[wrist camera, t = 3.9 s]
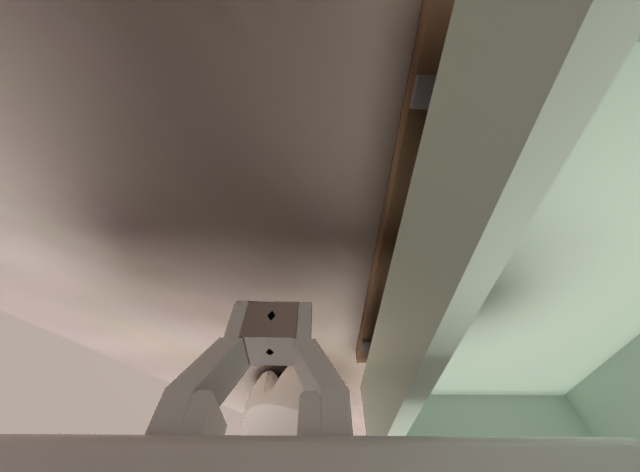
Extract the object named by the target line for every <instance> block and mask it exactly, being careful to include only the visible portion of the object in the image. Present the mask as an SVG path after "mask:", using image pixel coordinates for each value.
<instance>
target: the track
mask: <svg viewBox="0 0 640 472" xmlns="http://www.w3.org/2000/svg"><path fill="white" fill-rule="evenodd" d="M454 2H455V0H423V4H422V9H421V14H420V19H419V25H418V30H417V35H416V40H415V45H414V51H413V56H412V61H411V66H410V71H409V77H408V82H407V87H406V92H405V98H404V103H403V108H402V113H401V118H400V124H399V129H398V134H397V139H396V145H395V150H394V155H393V160H392V165H391V171H390V176H389V181H388V186H387V192H386V197H385V202H384V207H383V212H382V218H381V223H380V228H379V233H378V238H377V244H376V249H375V254H374V259H373V265H372V270H371V275H370V280H369V285H368V291H367V296H366V301H365V306H364V312H363V317H362V322H361V327H360V332H359V338H358V343H357V348H356V359H357V362H359V363H366V362H367V358H368V354H369V350H370V346H371V342H372V338H373V334H374V330H375V325H376V321H377V317H378V313H379V309H380V305H381V301H382V297H383V293H384V289H385V285H386V280H387V276H388V272H389V268H390V264H391V260H392V256H393V252H394V248H395V244H396V240H397V235H398V231H399V227H400V223H401V219H402V215H403V211H404V207H405V203H406V199H407V194H408V190H409V186H410V182H411V178H412V174H413V170H414V166H415V162H416V158H417V154H418V149H419V145H420V141H421V137H422V133H423V129H424V125H425V121H426V117H427V113H428V109H429V104H430V100H431V96H432V92H433V88H434V84H435V80H436V76H437V72H438V68H439V63H440V59H441V55H442V51H443V47H444V43H445V39H446V35H447V31H448V27H449V23H450V18H451V14H452V10H453V6H454Z"/></svg>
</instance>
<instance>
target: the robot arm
mask: <svg viewBox="0 0 640 472" xmlns="http://www.w3.org/2000/svg"><path fill="white" fill-rule="evenodd" d="M311 330H312V302H260V301H236V303H235V304H234V307H233V310H232V313H231V316H230V319H229V322H228V326H227V329H226V332H225V335H224V338H219V339H218V340H217V341H216V342H215V343H213V344H212V345H211V346H210V347H209V348H208V349H207V350H206V351H205V352H204V353H203V354H202V355H201V356H199V357H198V358H197V359H196V360H195V361H194V362H193V363H192V364H191V365H190V366H189V367H188V368H187V369H186V370H184V371H183V372H182V373H181V374H180V375H179V376H178V377H177V378H176V379H175V380H174V381H173V382H172V383H171V384H169V386H167V387H166V388H165V390H164V392H163V395H162V397H161V399H160V401H159V403H158V406H157V408H156V410H155V412H154V415H153V417H152V419H151V421H150V424H149V426H148V428H147V430H146V433H145V435H89V434H88V435H85V434H83V435H82V434H81V435H80V434H75V435H74V434H0V472H640V440H638V439H635V438H628V437H511V436H353V429H352V418H351V407H350V395H349V390H348V388H347V387H346V385H345V384H344V382H343V381H342V379H341V378H340V376H339V375H338V373H337V372H336V370H335V368H334V367H333V365H332V364H331V362H330V361H329V359H328V358H327V356H326V355H325V353H324V352H323V350H322V349H321V347H320V346H319V344H318V343H317V341H316V340H315V339H311ZM255 365H279V366H293V367H294V369H295V372H296V374H297V376H298V378H299V380H300V382H301V384H302V386H303V388H304V390H305V391H303V392H302V393H301V394H300V397H299V412H298V426H297V435H225V431H226V427H227V424H226V422H225V419H224V417H223V415H222V412H221V410H220V408H219V407H220V405H221V404H222V403H223V401H224V400H225V399H226V397H227V396H228V395H229V393H230V392H231V391H232V389H233V388H234V387H235V386H236V384H237V383H238V382H239V380H240V379H241V378H242V376H243V375H244V374H245V372H246V371H247V370H248V368H249V366H255Z"/></svg>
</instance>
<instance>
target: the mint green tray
mask: <svg viewBox="0 0 640 472" xmlns="http://www.w3.org/2000/svg"><path fill="white" fill-rule="evenodd" d="M361 395H362V404H363V412H364V420H365V428H366V436H511V437H628V438H635V439H638V440H640V0H455V2H454V6H453V10H452V14H451V18H450V23H449V27H448V31H447V35H446V39H445V43H444V47H443V51H442V55H441V59H440V63H439V68H438V72H437V76H436V80H435V84H434V88H433V92H432V96H431V100H430V104H429V109H428V113H427V117H426V121H425V125H424V129H423V133H422V137H421V141H420V145H419V149H418V154H417V158H416V162H415V166H414V170H413V174H412V178H411V182H410V186H409V190H408V194H407V199H406V203H405V207H404V211H403V215H402V219H401V223H400V227H399V231H398V235H397V240H396V244H395V248H394V252H393V256H392V260H391V264H390V268H389V272H388V276H387V280H386V285H385V289H384V293H383V297H382V301H381V305H380V309H379V313H378V317H377V321H376V325H375V330H374V334H373V338H372V342H371V346H370V350H369V354H368V358H367V362H366V366H365V371H364V375H363V379H362V383H361Z"/></svg>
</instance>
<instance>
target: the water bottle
mask: <svg viewBox="0 0 640 472" xmlns="http://www.w3.org/2000/svg"><path fill="white" fill-rule="evenodd" d="M303 391H305V390H304V388H303V386H302V384H301V382H300V380H299V378H298V376H297V374H296V372H295V369H294V367H293V366H288V367H287V368H286V369H285V370H284V371H283V373H282V374H281V375H280V377H279V378H278V377H277V375H276V374H275V373H274V372H273V371H271V370H269V371H266V372H264V373H263V374H262V375H261V376H260V378H259V379H258V381H257V382H256V383H255V385H254V387H253V389H252V391H251V393H250V395H249V398H248V400H247V403H246V406H245V410H244V413H243V418H242V435H297V426H298V412H299V397H300V394H301V393H302V392H303Z"/></svg>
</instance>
